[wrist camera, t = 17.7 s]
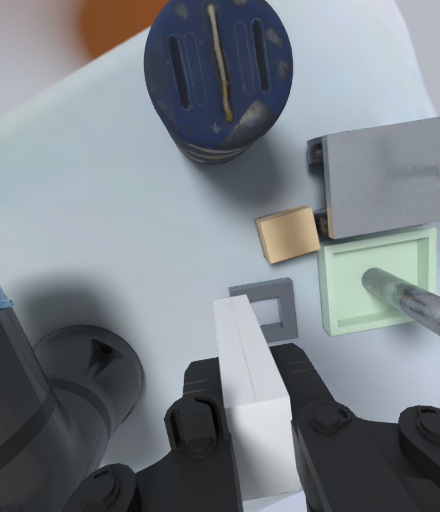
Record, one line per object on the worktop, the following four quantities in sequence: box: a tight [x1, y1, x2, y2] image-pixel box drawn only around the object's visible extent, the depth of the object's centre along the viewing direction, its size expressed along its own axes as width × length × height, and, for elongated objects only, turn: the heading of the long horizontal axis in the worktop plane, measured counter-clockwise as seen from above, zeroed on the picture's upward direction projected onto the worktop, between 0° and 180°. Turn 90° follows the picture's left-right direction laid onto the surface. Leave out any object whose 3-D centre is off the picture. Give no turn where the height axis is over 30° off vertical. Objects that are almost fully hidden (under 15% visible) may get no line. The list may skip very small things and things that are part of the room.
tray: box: [317, 225, 437, 336], centre depth 38 cm, size 14×12×3 cm
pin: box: [362, 267, 440, 336], centre depth 32 cm, size 4×4×15 cm
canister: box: [144, 0, 293, 165], centre depth 25 cm, size 10×10×18 cm
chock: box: [254, 205, 320, 264], centre depth 36 cm, size 6×5×4 cm
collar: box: [229, 277, 298, 343], centre depth 39 cm, size 8×8×2 cm
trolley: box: [307, 117, 440, 239], centre depth 28 cm, size 12×10×18 cm
